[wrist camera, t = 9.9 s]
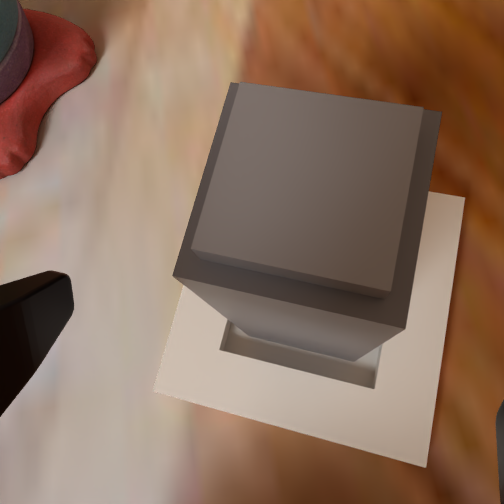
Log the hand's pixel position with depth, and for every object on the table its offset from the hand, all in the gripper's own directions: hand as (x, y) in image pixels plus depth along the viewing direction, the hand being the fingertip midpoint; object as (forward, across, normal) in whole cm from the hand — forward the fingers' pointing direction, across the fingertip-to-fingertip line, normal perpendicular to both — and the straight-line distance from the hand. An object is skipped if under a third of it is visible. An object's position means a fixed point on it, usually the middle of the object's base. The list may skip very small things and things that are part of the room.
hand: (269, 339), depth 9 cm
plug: (+11, 0, +7) cm, 13 cm away
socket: (+12, 0, +7) cm, 13 cm away
